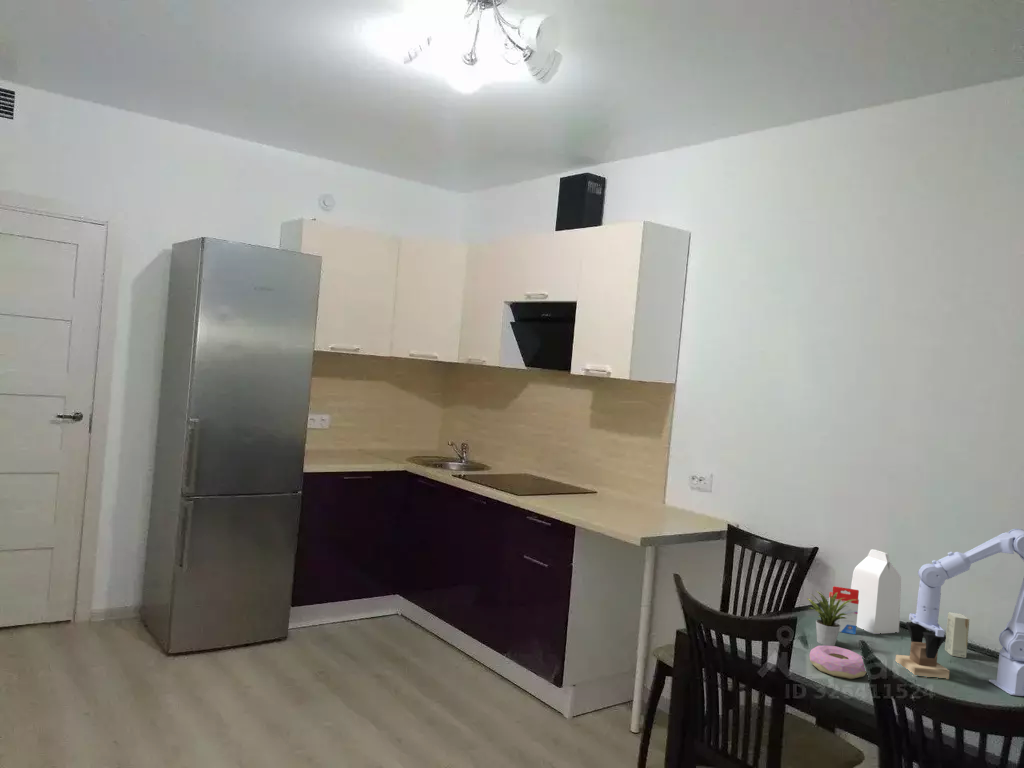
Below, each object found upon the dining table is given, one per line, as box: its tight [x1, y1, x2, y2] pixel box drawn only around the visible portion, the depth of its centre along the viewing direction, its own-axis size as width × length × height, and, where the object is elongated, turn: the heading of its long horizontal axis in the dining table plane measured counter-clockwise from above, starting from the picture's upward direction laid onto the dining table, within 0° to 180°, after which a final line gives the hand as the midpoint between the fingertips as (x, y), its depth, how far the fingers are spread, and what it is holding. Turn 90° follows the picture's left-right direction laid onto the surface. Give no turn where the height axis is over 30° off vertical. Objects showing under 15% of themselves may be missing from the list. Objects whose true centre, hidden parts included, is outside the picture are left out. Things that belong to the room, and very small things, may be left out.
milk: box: [850, 548, 902, 635], centre depth 258 cm, size 12×12×26 cm
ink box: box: [828, 585, 859, 635], centre depth 251 cm, size 8×5×15 cm, turn 74°
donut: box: [808, 645, 867, 680], centre depth 213 cm, size 16×15×5 cm
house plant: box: [806, 590, 853, 646], centre depth 237 cm, size 14×14×16 cm
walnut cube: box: [909, 641, 939, 667], centre depth 219 cm, size 5×5×5 cm
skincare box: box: [944, 611, 971, 659], centre depth 237 cm, size 6×4×12 cm
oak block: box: [895, 654, 951, 680], centre depth 219 cm, size 10×10×3 cm
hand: (923, 652), depth 219 cm, fingers open, 7 cm apart
